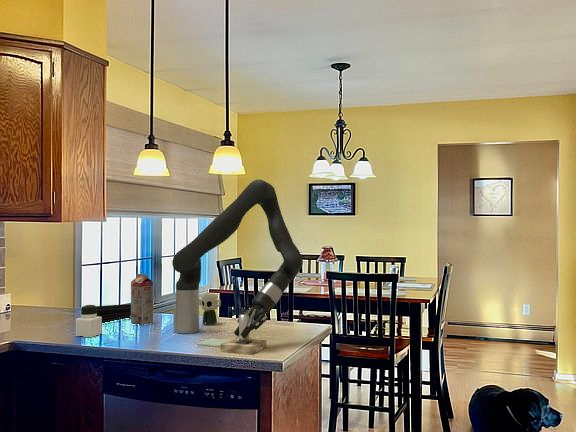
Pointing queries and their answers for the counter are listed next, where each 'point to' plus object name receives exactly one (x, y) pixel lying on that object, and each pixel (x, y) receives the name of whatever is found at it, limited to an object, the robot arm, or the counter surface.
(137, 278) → the juice carton
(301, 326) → the counter surface
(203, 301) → the big headed toy figurine
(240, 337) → the peg
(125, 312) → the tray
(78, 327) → the medicine bottle
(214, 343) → the mat
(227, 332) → the counter surface
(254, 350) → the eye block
